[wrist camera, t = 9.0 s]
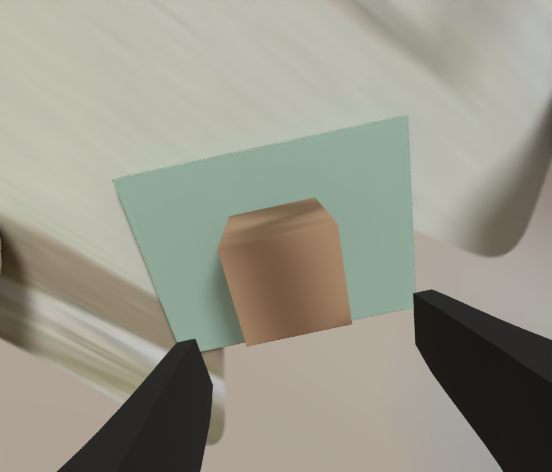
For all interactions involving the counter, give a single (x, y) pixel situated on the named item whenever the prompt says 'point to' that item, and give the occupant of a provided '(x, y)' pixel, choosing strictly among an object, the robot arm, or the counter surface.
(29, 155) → the counter surface
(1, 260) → the lidded jar
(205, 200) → the sage board
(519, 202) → the counter surface
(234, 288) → the walnut block
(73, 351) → the counter surface
